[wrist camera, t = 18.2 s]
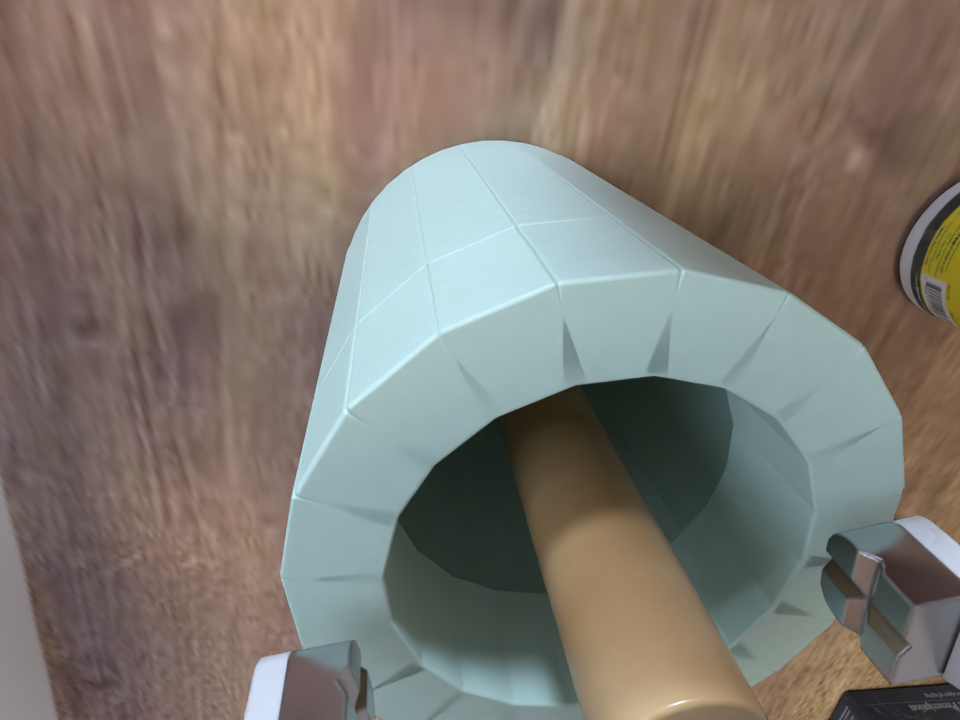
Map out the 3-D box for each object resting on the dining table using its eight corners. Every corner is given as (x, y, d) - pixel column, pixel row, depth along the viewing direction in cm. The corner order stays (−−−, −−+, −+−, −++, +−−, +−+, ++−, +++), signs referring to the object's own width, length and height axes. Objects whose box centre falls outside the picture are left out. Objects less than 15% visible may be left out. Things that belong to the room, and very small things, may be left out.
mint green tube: (368, 429, 25) (344, 791, 13) (318, 154, 20) (197, 320, 8) (623, 397, 26) (829, 705, 14) (639, 127, 21) (995, 234, 9)
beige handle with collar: (452, 370, 23) (546, 872, 9) (429, 263, 21) (504, 699, 7) (561, 346, 23) (825, 803, 9) (550, 238, 21) (867, 614, 7)
